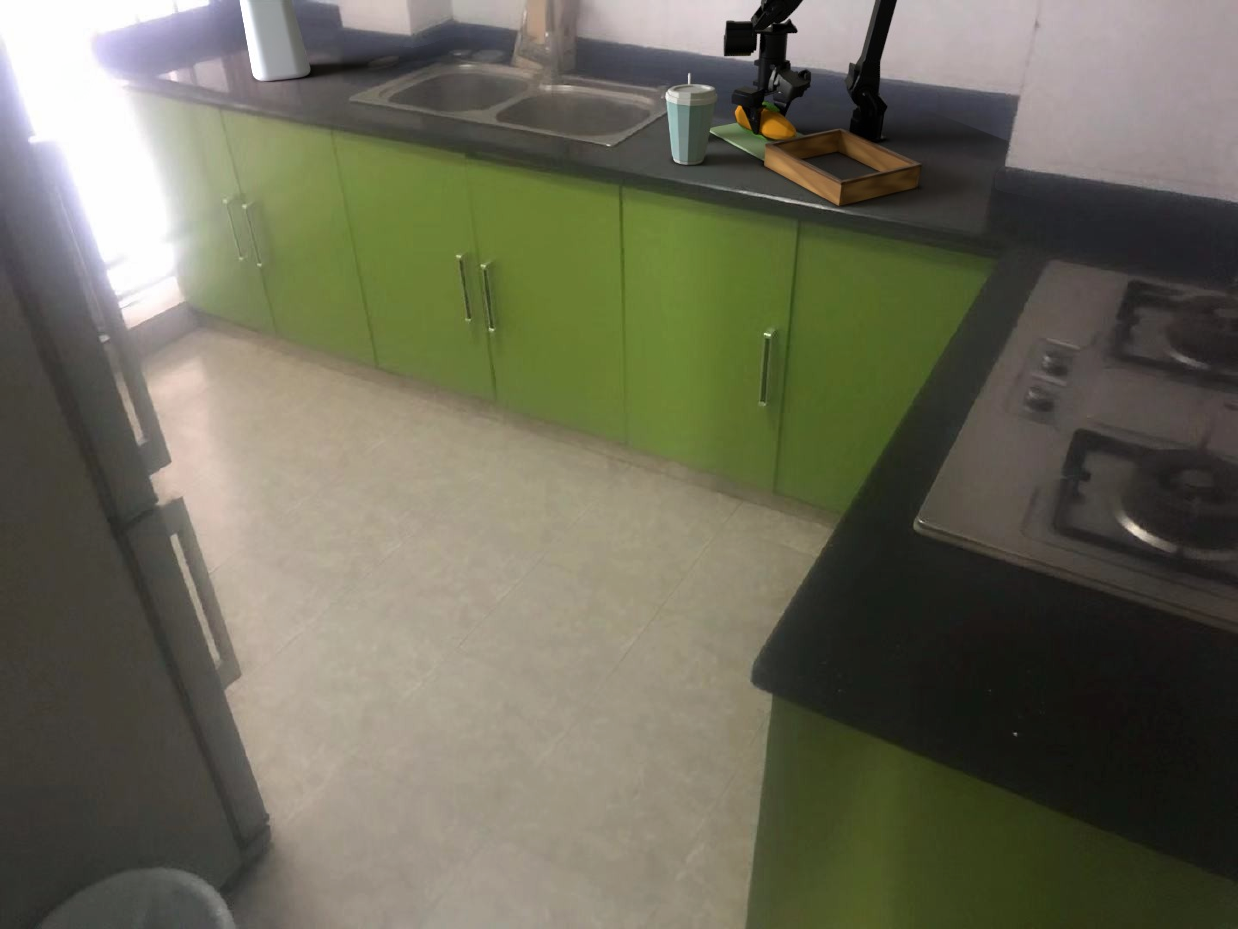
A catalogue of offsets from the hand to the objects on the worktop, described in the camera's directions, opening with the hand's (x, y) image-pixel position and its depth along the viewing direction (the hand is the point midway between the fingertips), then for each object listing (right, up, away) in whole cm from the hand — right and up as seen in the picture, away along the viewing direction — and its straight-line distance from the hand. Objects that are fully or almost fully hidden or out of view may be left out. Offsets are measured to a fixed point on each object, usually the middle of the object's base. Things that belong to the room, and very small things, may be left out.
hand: (767, 130), depth 208 cm
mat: (0, -2, +1) cm, 2 cm away
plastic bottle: (-126, +34, +54) cm, 141 cm away
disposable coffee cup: (-18, -9, -8) cm, 21 cm away
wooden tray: (+12, -15, -17) cm, 26 cm away
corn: (0, -1, +1) cm, 2 cm away
